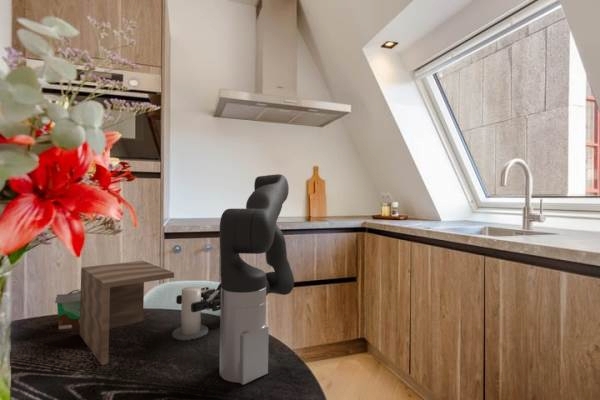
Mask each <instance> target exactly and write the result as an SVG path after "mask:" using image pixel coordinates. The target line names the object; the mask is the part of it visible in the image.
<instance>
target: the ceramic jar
mask: <svg viewBox="0 0 600 400" xmlns="http://www.w3.org/2000/svg"><path fill="white" fill-rule="evenodd" d="M201 288H202V287H201V286H187V287H183V288H182V289H181V295H182V304H181V309H180V310H181V313H180V314H181V316H180V317H181V321H180V324H181V325H180V327H181V333H182V334H186V335H190V334H195V333H198V332H199V331H200V325H201V318H202V317H201V316H202V315H201V313H202V310H201V311H197V312H192V311H191V304H192V303H194V302H199V301H201V299H202V298H201Z"/></svg>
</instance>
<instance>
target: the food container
mask: <svg viewBox="0 0 600 400" xmlns="http://www.w3.org/2000/svg"><path fill="white" fill-rule="evenodd" d="M80 302H81V288H80V289H74V290H72V291H70V292H68V293H65V294H62V293H61V294H59V293H57V294H56V297H55V302H54V303H55V304H56V306H57V308H56V309H57V322H58V332H59V333H60V332H62V333H64V332H65V333H66V332H72V331H77V330H80Z"/></svg>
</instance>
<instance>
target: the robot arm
mask: <svg viewBox="0 0 600 400" xmlns="http://www.w3.org/2000/svg"><path fill="white" fill-rule="evenodd" d="M253 186H254V188H253V189H254V190H253V192H252V193H251V194H250V195H249V197H248V199H247V200H246V204H245V208H227V209H224V211H223V213H222V214H221V216H220V220H219V251H220V252H219V253H220V255H219V256H220V259H219V263H220V265H219V266H220V270H219V271H220V272H219V273H220V283H219V284H218V286H217V288H209V287H207V286H206V287H200V288H201V301H199V302H194V303H192V304H191V311H192V312H197V311H201V312H202V311H205V310H207V311H210V310H211V311H212V312H217V311H220V319H219V321H220V322H219V368H218V369H219V370H218V371H219V373H218V374H219V376H220V377H221V378H222V379H223V380H224V381H227V382H231V383H237V384H238V383H239V384H240V385H246V384H248V383H251V382H252V381H255V380H257V379H258V378H261V377H263V376H266V375H267V374H268V373H269V335H270V334H269V330H270V328H269V326H268V325H267V324H266V322H267V319H266V318H267V296H268V295H269V294H277V295H282V296H283V295H284V296H286V295H289V294H290V293H292V291H293V289H294V285H295V278H294V275H293V271H292V267H291V264H290V262H289V260H288V253H287V244H286V237H285V235H284V233H283V231H282V230H281V229H280V227H279V225H277V222H278V219H279V217H280V214H281V212H282V208H283V204H284V203H285V202H286V200H287V199H288V197H289V187H290V186H289V182H288V180H287V178H286V176H285V175H284V174H280V173H278V174H268V175H259V176H257V177H256V178H255V180H254V185H253ZM263 253H264V254H265V261H266V264H268V266H269V267H270V266H271V268H273V270H274V271H269V272H265V271H264V270H262V269H261V268H258V267H256V266H253V265H251V264H249V263H247V262H246V261H245V260H243V259H242V258H241V256H240V255H241V254H243V255H244V254H253V255H254V254H255V255H260V254H263ZM175 299H176V300H175V301H176V304H177V305H182V294H178V295H176V298H175Z"/></svg>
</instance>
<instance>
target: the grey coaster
mask: <svg viewBox="0 0 600 400" xmlns="http://www.w3.org/2000/svg"><path fill="white" fill-rule="evenodd" d="M207 334H209V328H208V326H206V325H203V324H200V331H199V332H198V333H195V334H190V335H186V334H182V333H181V326H179V327H177V328H175V329H174V330H173V331H172V333H171V337H172V338H173V339H175V340H177V341H192V340H191V339H194V340H197V339H196V338H198V339H200V338H199V337H201V338H203V337H205V336H206V335H207ZM204 335H205V336H204ZM202 336H203V337H202Z"/></svg>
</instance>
